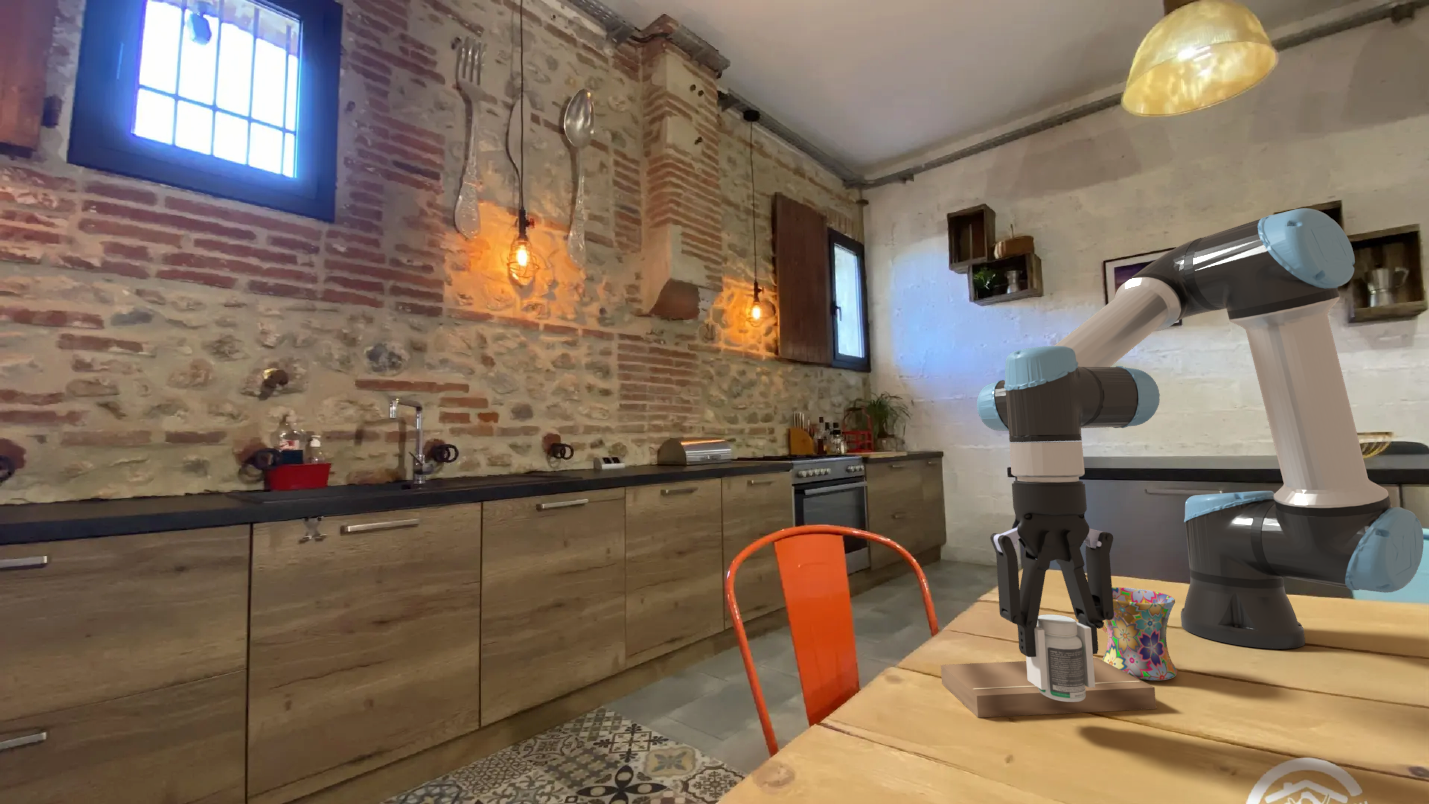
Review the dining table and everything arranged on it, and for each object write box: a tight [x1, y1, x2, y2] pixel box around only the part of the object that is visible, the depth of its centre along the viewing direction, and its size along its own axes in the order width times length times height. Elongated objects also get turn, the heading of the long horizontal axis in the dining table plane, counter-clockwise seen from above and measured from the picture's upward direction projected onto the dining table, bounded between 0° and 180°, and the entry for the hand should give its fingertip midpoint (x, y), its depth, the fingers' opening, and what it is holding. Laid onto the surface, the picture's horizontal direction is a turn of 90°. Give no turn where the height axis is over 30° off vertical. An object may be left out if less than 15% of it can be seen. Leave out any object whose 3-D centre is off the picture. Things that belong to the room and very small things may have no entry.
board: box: [940, 657, 1157, 718], centre depth 76 cm, size 22×10×3 cm, turn 93°
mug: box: [1101, 586, 1178, 681], centre depth 84 cm, size 12×9×11 cm
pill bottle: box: [1037, 614, 1086, 702], centre depth 68 cm, size 5×5×8 cm
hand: (1060, 683), depth 67 cm, fingers closed on pill bottle, 5 cm apart
